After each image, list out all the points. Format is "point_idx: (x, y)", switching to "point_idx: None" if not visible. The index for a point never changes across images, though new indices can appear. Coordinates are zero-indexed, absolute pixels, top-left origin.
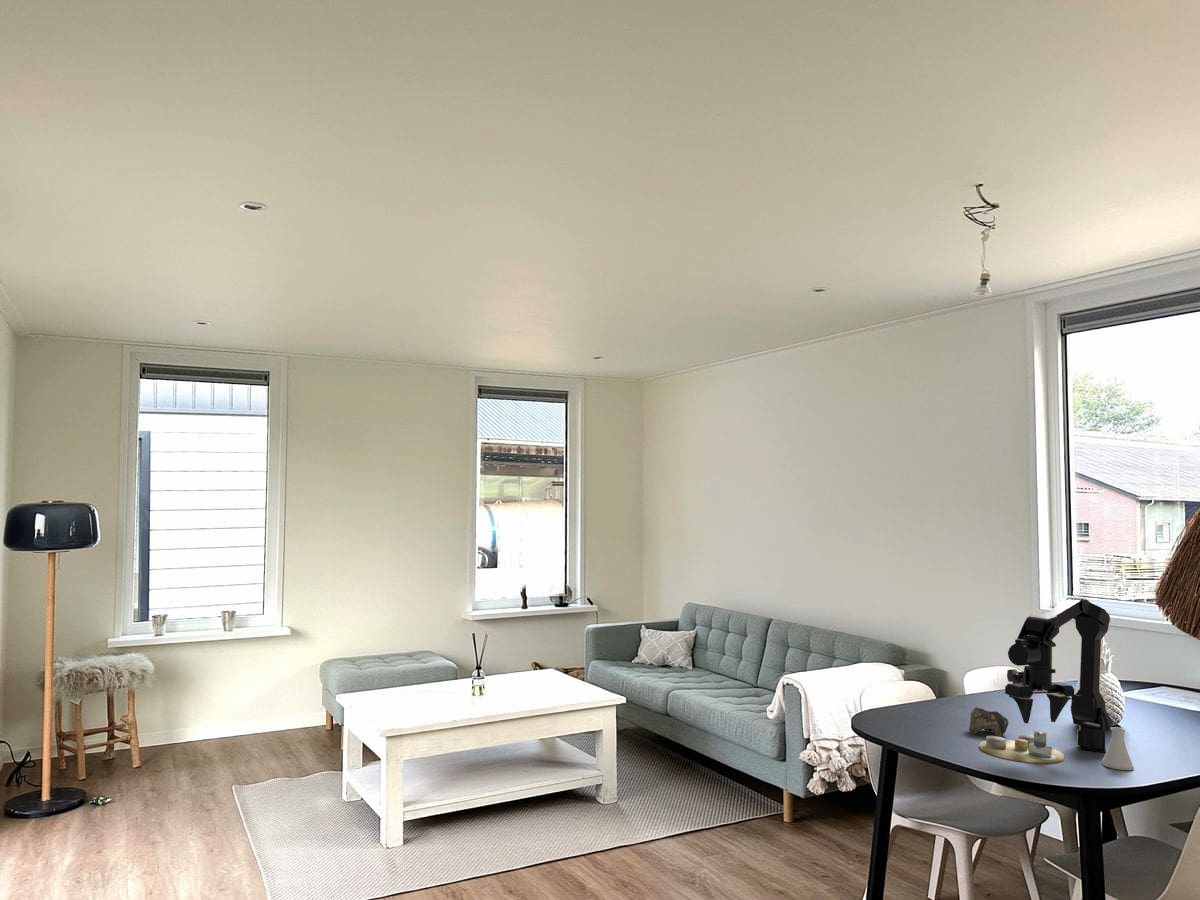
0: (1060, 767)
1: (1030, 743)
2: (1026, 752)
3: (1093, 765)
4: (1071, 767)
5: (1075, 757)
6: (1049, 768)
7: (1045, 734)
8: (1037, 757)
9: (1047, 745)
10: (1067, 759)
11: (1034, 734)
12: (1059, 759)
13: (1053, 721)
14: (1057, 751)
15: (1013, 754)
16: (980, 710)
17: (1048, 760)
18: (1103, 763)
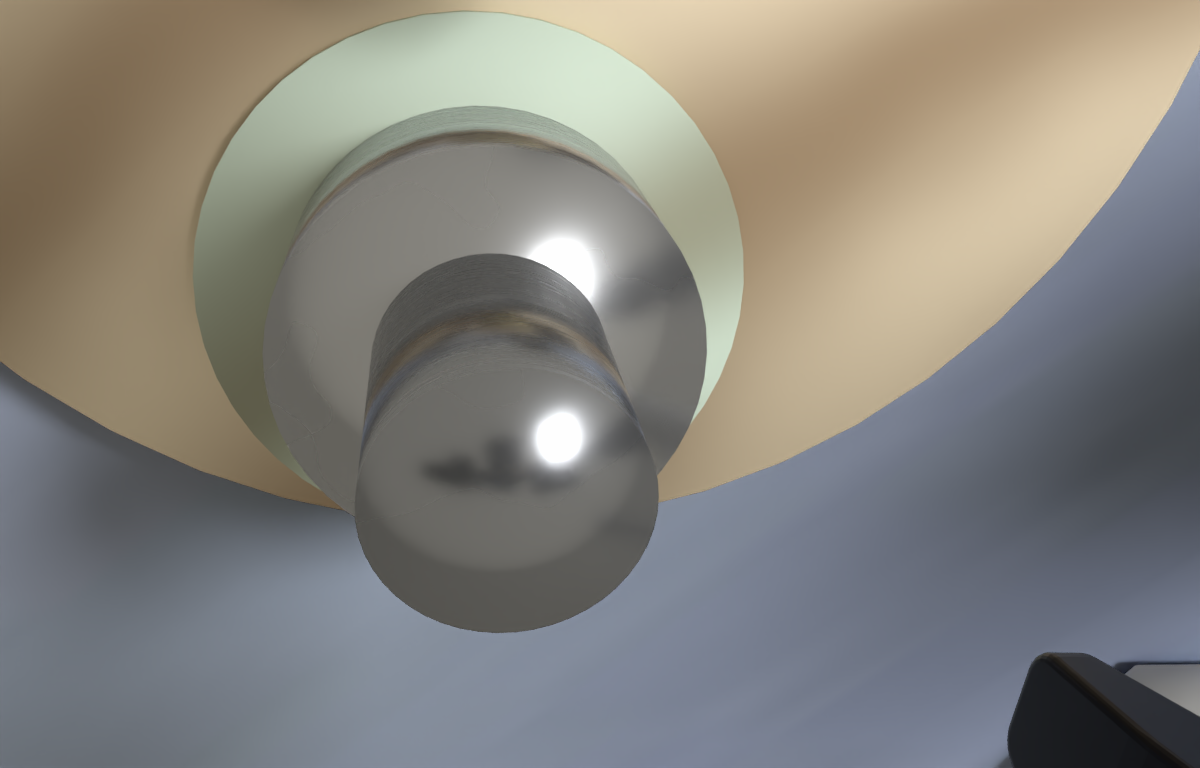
0: (401, 667)
1: (451, 158)
2: (383, 74)
3: (954, 685)
4: (564, 695)
5: (1151, 350)
6: (179, 672)
7: (526, 622)
8: None
9: (679, 383)
10: (919, 399)
11: (369, 427)
12: None
13: (1016, 748)
14: (1093, 155)
15: (6, 61)
16: None
17: None
18: None
